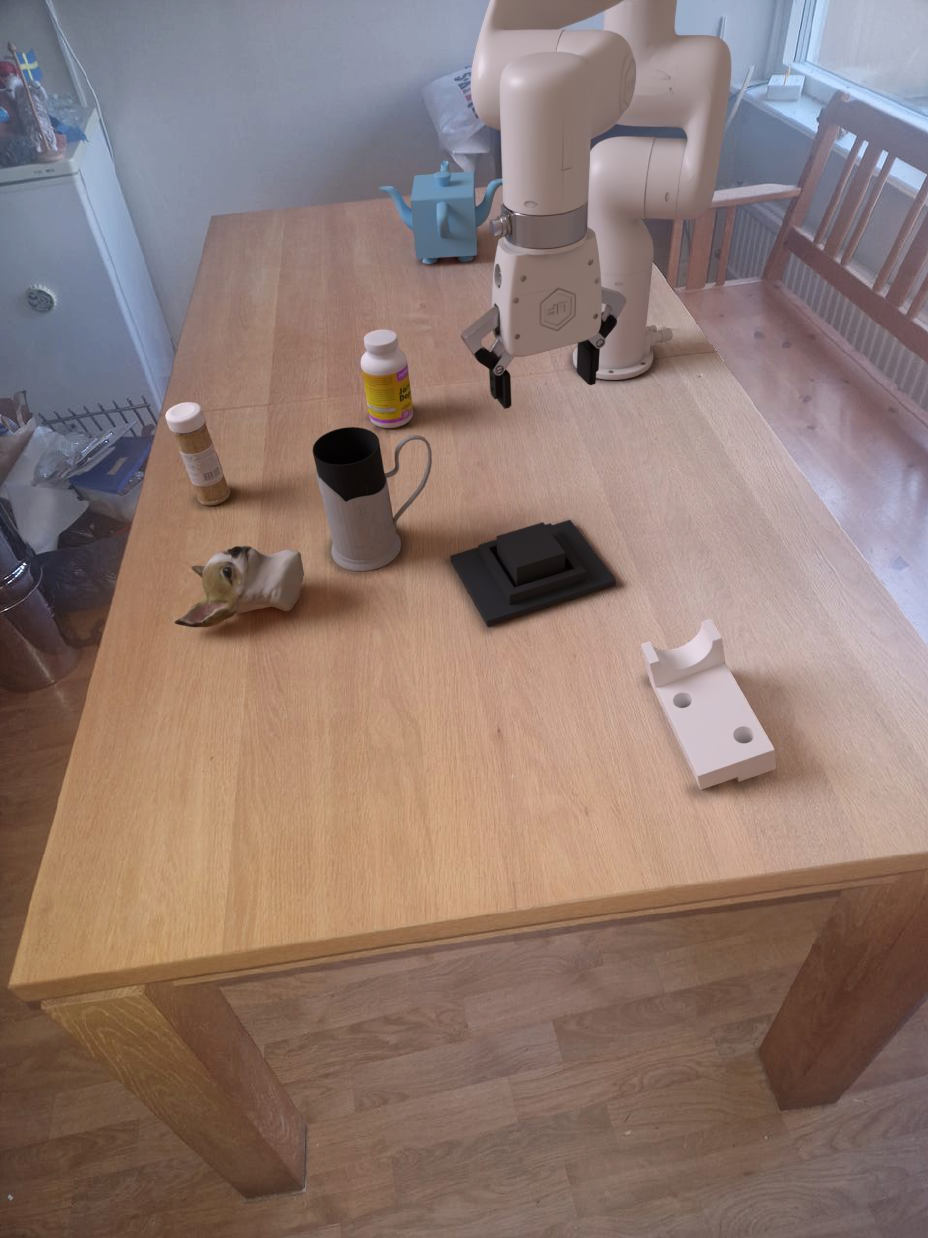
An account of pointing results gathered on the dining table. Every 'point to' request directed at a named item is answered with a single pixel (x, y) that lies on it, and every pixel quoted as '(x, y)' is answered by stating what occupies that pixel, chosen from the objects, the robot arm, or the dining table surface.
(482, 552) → the base pad
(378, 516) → the glass holder
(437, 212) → the teakettle
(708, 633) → the bracket
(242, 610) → the ceramic sculpture
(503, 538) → the black pad
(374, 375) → the supplement bottle
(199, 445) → the sprinkles bottle
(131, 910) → the dining table surface
